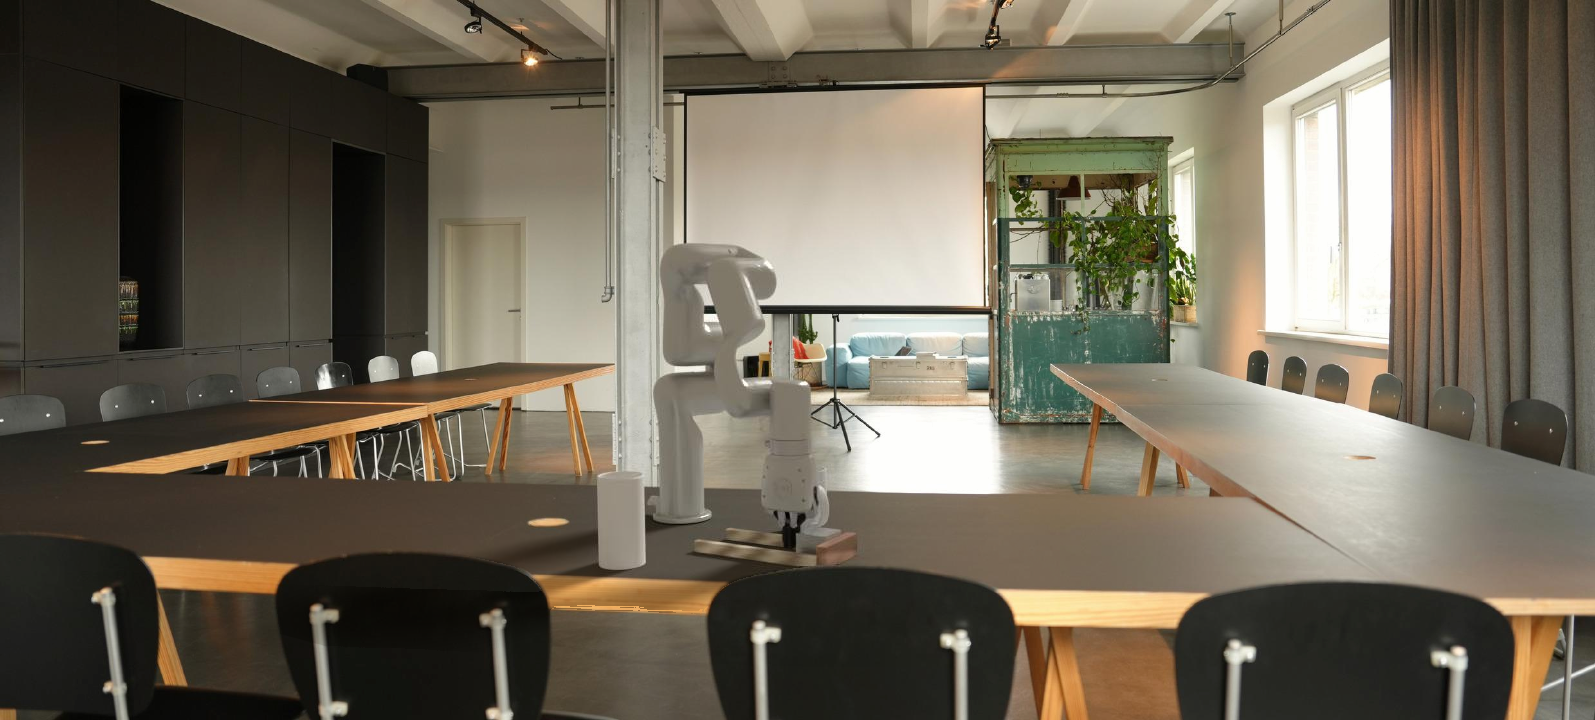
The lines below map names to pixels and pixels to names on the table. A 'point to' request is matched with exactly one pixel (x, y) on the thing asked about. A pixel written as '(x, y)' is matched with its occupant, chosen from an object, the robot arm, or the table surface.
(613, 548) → the cup
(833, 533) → the block
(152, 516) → the table surface
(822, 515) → the mug
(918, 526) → the table surface
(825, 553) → the u-shaped frame
